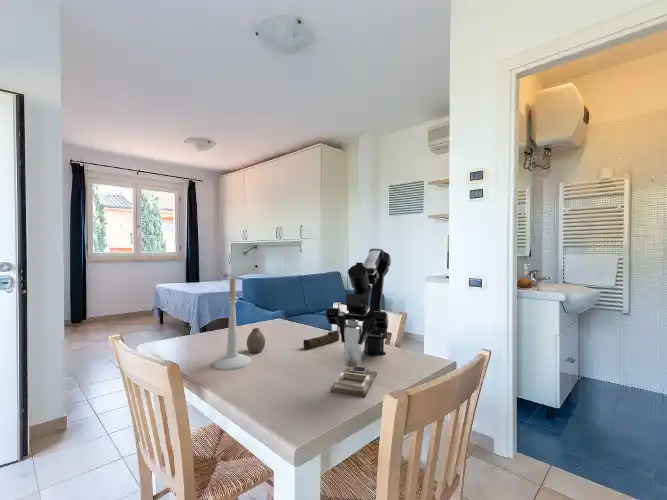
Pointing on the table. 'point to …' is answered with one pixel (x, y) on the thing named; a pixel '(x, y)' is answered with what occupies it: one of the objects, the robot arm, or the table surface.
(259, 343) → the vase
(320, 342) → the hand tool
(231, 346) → the candlestick
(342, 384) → the socket board
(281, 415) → the table surface
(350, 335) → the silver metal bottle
